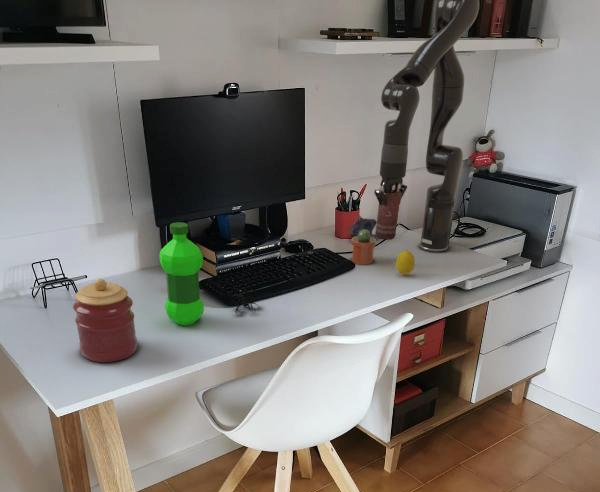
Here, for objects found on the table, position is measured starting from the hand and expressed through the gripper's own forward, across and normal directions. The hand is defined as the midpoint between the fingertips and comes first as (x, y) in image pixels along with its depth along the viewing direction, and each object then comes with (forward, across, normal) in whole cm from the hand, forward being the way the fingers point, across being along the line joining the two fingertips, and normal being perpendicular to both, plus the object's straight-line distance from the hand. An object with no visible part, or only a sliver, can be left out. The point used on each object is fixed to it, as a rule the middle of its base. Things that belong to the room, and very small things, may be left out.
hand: (388, 219), depth 198 cm
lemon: (+16, 0, -8) cm, 18 cm away
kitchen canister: (+16, -93, +6) cm, 95 cm away
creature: (+16, -54, +3) cm, 56 cm away
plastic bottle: (+16, -70, +8) cm, 72 cm away
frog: (+16, +17, +24) cm, 33 cm away
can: (+6, 0, 0) cm, 6 cm away
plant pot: (+16, 0, +9) cm, 18 cm away
